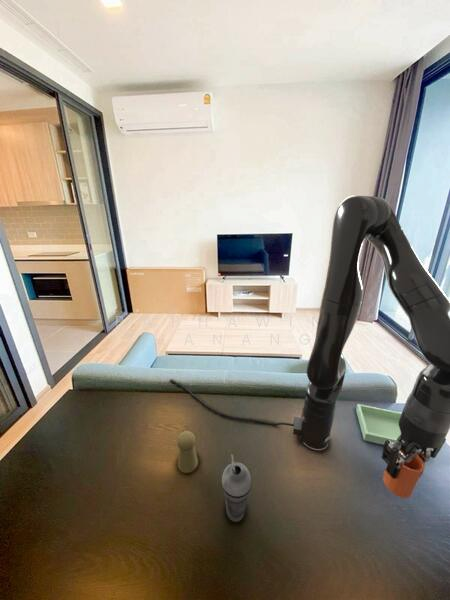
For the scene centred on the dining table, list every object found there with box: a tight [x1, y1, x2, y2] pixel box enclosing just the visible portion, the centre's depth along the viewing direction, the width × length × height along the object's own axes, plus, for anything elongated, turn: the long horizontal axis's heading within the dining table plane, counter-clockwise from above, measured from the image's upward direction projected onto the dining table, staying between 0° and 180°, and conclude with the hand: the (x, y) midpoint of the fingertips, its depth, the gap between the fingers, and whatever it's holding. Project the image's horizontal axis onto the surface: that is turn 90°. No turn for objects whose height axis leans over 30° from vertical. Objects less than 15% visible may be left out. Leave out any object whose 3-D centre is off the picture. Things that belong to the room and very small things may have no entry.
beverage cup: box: [220, 453, 252, 523], centre depth 59 cm, size 7×7×20 cm
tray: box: [355, 403, 402, 446], centre depth 85 cm, size 18×14×3 cm
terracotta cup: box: [382, 448, 426, 499], centre depth 56 cm, size 6×6×9 cm
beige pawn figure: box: [176, 430, 199, 474], centre depth 72 cm, size 6×6×11 cm
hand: (402, 471), depth 56 cm, fingers closed on terracotta cup, 6 cm apart
